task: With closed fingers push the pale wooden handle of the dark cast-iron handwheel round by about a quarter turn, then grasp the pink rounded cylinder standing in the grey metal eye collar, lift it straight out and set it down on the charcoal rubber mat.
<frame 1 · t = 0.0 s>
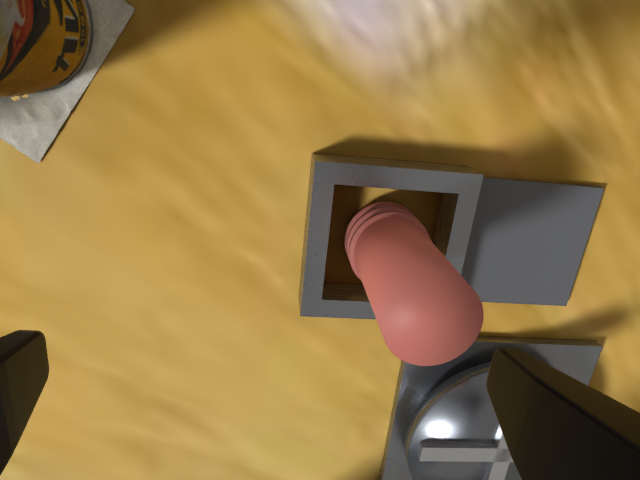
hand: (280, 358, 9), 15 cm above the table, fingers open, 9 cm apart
mat: (521, 243, 25), on the table
wheel base: (481, 417, 29), on the table
handwheel: (513, 472, 25), point 4 cm above the table, hinge at 0.0°
pink rounded cylinder: (400, 269, 20), in the eye collar
condiment: (10, 33, 20), on the table
eye collar: (379, 234, 24), on the table
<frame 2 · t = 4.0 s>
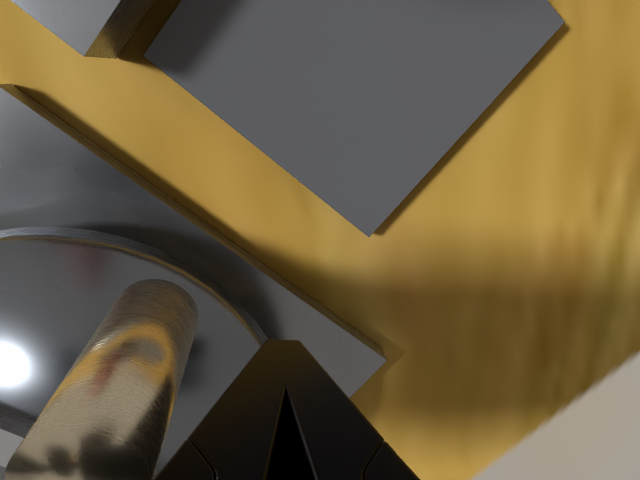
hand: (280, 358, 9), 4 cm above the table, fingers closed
mat: (357, 39, 11), on the table
wheel base: (102, 383, 14), on the table
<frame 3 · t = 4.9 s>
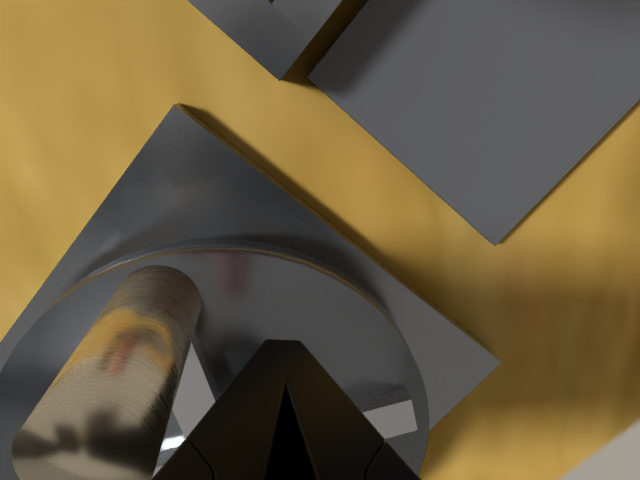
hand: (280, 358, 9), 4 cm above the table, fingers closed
mat: (499, 60, 12), on the table
wheel base: (230, 386, 14), on the table
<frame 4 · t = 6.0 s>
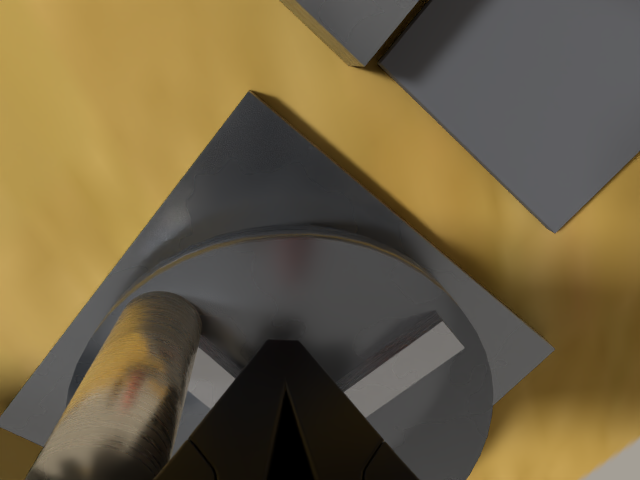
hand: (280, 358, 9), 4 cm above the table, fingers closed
mat: (568, 46, 12), on the table
wheel base: (286, 372, 14), on the table
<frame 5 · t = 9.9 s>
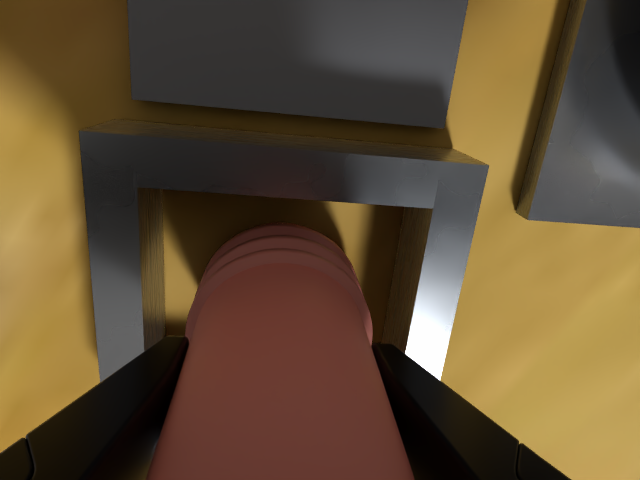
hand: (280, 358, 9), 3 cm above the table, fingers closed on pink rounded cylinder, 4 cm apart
pink rounded cylinder: (280, 402, 8), in the eye collar, touching gripper
eye collar: (280, 286, 12), on the table
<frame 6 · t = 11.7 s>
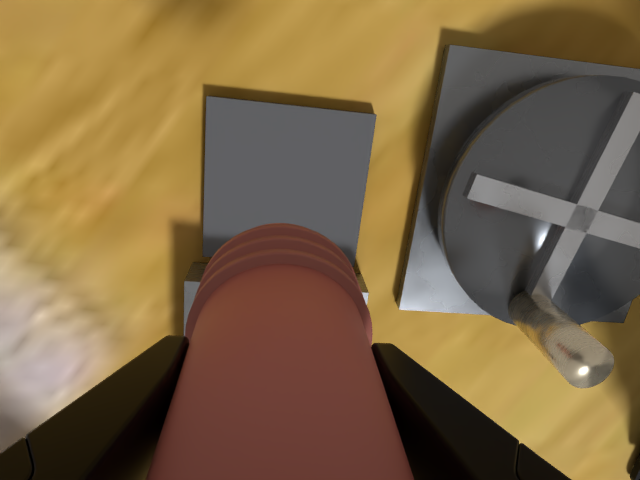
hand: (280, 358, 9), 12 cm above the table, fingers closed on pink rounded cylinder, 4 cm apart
mat: (285, 186, 20), on the table
wheel base: (541, 198, 21), on the table
handwheel: (601, 228, 17), point 4 cm above the table, hinge at 79.5°
pink rounded cylinder: (280, 403, 8), point 13 cm above the table, touching gripper
eye collar: (272, 340, 23), on the table
when the fingers open (5 cm above the table, at t = 13.4 s): pink rounded cylinder stays where it is, resting on mat.
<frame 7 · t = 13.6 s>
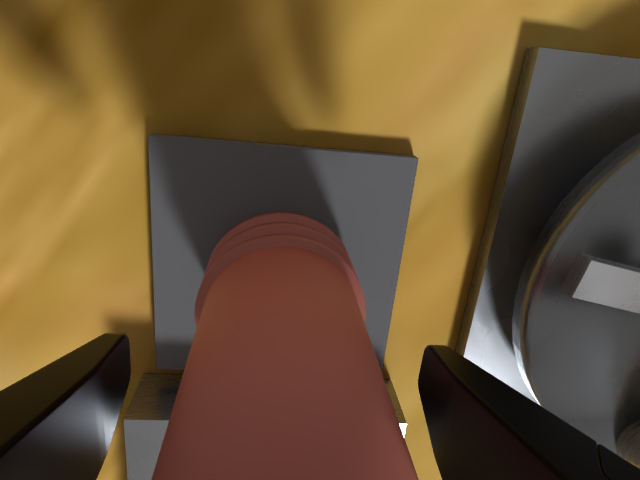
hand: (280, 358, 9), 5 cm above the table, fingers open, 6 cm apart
mat: (279, 264, 13), on the table
pink rounded cylinder: (282, 369, 9), on the mat
eye collar: (264, 470, 16), on the table
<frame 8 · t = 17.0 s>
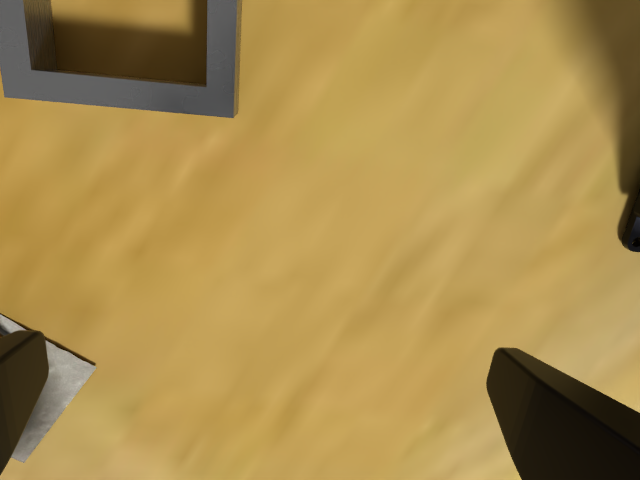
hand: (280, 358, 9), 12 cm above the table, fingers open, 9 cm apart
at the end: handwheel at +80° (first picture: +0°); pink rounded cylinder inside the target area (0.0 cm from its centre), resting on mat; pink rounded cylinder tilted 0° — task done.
